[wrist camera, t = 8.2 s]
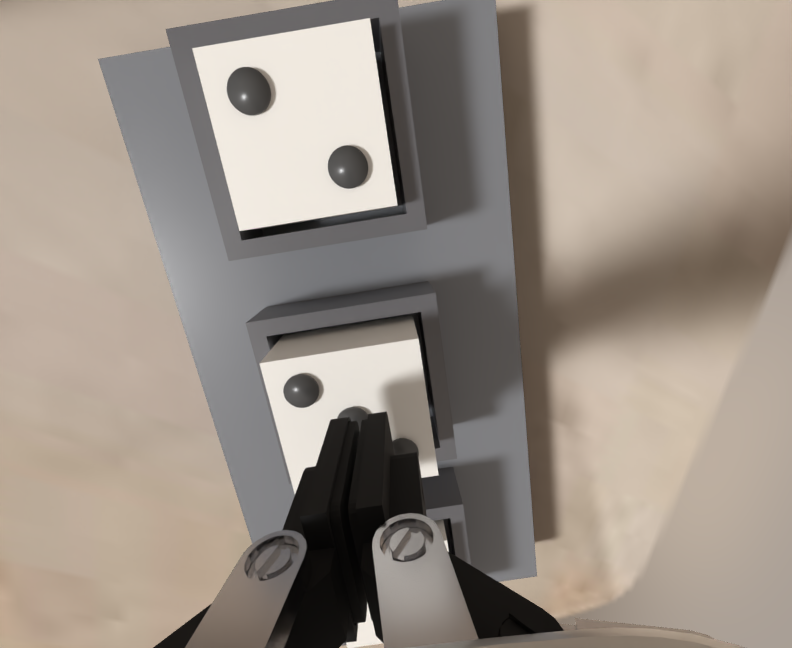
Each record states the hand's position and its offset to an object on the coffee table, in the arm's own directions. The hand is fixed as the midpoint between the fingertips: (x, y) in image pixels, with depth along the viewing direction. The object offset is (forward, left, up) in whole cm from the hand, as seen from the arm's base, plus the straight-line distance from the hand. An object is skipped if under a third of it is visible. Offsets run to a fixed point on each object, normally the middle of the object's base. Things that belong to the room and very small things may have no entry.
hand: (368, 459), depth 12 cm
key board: (0, 0, -8) cm, 8 cm away
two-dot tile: (-9, 0, -6) cm, 11 cm away
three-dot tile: (0, 0, -4) cm, 4 cm away
